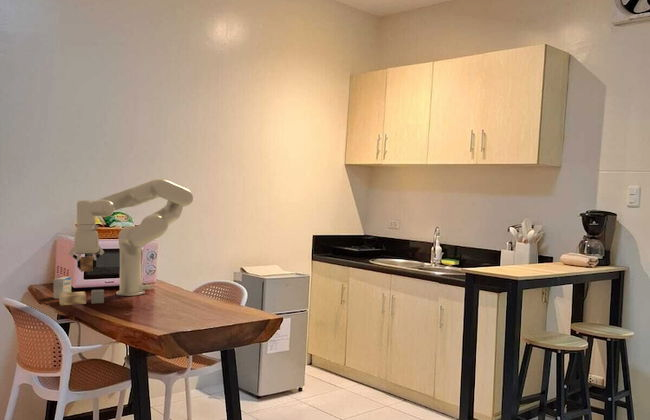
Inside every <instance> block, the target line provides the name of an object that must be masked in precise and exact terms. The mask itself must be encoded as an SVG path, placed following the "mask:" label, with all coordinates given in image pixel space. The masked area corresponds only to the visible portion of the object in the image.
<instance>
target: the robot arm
mask: <svg viewBox="0 0 650 420" xmlns="http://www.w3.org/2000/svg"><path fill="white" fill-rule="evenodd" d="M158 198H162V199H164V200H167V203H166V205H165V206H164V207H162V208H160V209H159V210H156V211H155V212H153V213H151V214H150V215H147V216H145V217H144V218H143V219H141V222H140V223H139V224H137V225H136V226H135V225H126V226H124V227H123V228H122V229H121V230H120V231H119V233H118V246H119V290H117V291H116V292H115V294H116V296H121V297H132V296H134V297H135V296H141V295H145V292H146V291H145V290H153V289H152V285H150V284H148V285H147V284H146V285H145V284H143V283H142V247H144V246H146V245H148V244H150V243H152V242H153V241H155V240H156V239H158V238H160V237H162V236H163V235H164V234H166V232H167V231H168V227H169V226H170V225H171V224H173V223H175V222H176V221H177V220H178V219H179V218H180V217H181V214H182V212H183V208H185V207H188V206H190V205H191V204H192V203H193V201H194V196H193V193H192V191H191V190H189V189H188V188H185V187H183V186H181V185H178V184H176V183H174V182H172V181H169V180H167V179H165V178H163V179H162V178H159V179H157V178H156V179H152V180H149V181H146V182H145V183H141V184H139V185H136V186H132V187H131V188H128V189H125V190H122V191H119V192H116V193H114V194H110V195H107V196H104V197H102V198H99V199H97V200H89V199H88V200H78V201H77V202H76V231H75V232H74V238H73V240H74V241H73V242H74V243H73V247H71V248H72V249H70V250H69V252H68V255H69V256H71V257H72V258H74V259H75V260H76V261H77V265H76V266H77V269H78V270H79V271H81V262H80V258H81V257H82V255H92V256H93V270H95V269H96V268H97V260H98V259H99V257H101V256H103V254H105V251H104V250H103V248H102V247H101V245H100V243H99V241H100V240H99V234H98V233H99V232H98V231H97V229H100V226H99V225H97V224H96V217H103V218H104V217H110V216H112V215H113V214H114V212H115V211H118V210H121V209H125V208H132V207H136V206H139V205H142V204H144V203H148V202H150V201H152V200H155V199H158Z"/></svg>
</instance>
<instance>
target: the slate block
mask: <svg viewBox="0 0 650 420" xmlns="http://www.w3.org/2000/svg"><path fill="white" fill-rule="evenodd" d="M90 294H91V295H90V296H91V301H90V303H91V304H104V303H105V289H92V290H91V291H90Z"/></svg>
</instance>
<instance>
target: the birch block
mask: <svg viewBox="0 0 650 420" xmlns="http://www.w3.org/2000/svg"><path fill="white" fill-rule="evenodd" d="M58 301H59V302H58V303H59V306H71V305H72V306H73V305H85V304H87V294H86V291H71V292H67V293H59V300H58Z"/></svg>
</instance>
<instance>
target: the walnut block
mask: <svg viewBox="0 0 650 420" xmlns="http://www.w3.org/2000/svg"><path fill="white" fill-rule="evenodd" d="M80 262H81V270H80V272H94V269H93V255H92V256H91V255H90V256H80Z"/></svg>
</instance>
